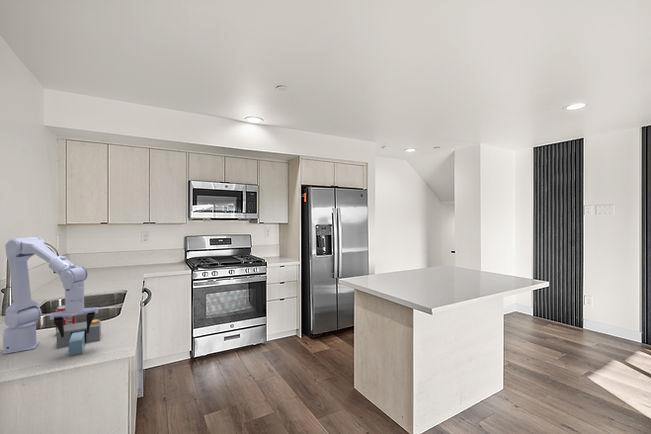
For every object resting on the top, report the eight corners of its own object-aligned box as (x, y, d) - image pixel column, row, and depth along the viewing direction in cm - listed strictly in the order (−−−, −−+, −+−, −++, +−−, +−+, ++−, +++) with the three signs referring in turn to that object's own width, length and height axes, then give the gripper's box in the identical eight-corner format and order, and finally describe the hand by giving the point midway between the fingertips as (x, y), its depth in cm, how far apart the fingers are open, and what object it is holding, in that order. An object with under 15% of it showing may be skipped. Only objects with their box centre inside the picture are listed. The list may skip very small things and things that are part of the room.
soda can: (58, 337, 141) (57, 309, 140) (53, 333, 145) (52, 306, 144) (78, 332, 146) (77, 305, 146) (73, 329, 150) (72, 303, 150)
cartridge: (68, 356, 123) (68, 343, 123) (73, 343, 134) (72, 331, 134) (82, 353, 125) (81, 340, 125) (85, 341, 136) (84, 329, 136)
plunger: (89, 333, 139) (89, 322, 138) (90, 330, 141) (90, 320, 141) (98, 331, 140) (98, 321, 140) (98, 329, 143) (98, 319, 143)
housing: (56, 348, 130) (56, 332, 130) (60, 340, 138) (59, 325, 138) (99, 340, 138) (99, 325, 137) (100, 333, 145) (100, 319, 145)
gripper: (48, 304, 118) (48, 342, 118) (97, 299, 125) (97, 334, 126) (51, 300, 124) (52, 335, 124) (98, 294, 131) (98, 328, 132)
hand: (75, 334), depth 125 cm, fingers open, 7 cm apart
